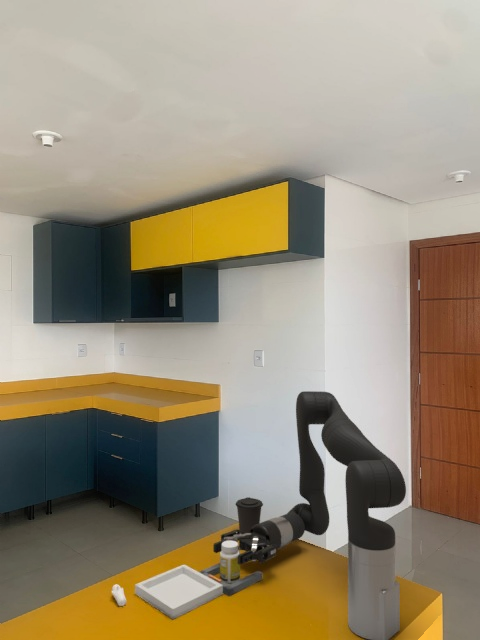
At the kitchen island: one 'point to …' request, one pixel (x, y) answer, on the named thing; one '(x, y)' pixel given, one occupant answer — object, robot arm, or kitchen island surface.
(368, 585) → the robot arm
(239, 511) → the coffee cup
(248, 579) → the holder
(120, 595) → the small white plastic part
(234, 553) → the supplement bottle
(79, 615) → the kitchen island surface
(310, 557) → the kitchen island surface
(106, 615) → the kitchen island surface
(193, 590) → the tray
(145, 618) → the kitchen island surface
